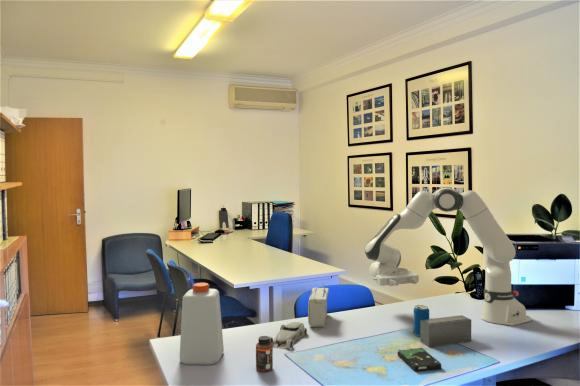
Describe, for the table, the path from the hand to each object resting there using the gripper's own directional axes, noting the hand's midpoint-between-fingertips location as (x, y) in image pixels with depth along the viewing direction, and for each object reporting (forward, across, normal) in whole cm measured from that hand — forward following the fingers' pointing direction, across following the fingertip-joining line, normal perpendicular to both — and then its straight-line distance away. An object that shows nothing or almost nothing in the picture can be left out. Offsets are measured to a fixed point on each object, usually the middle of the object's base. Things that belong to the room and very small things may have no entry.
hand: (406, 283), depth 207 cm
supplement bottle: (+24, -72, +20) cm, 78 cm away
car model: (-2, -55, +20) cm, 58 cm away
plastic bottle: (+7, -92, +20) cm, 94 cm away
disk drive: (+36, -17, +20) cm, 45 cm away
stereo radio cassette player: (-19, -35, +20) cm, 44 cm away
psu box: (+22, +5, +19) cm, 30 cm away
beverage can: (+12, 0, +20) cm, 23 cm away
